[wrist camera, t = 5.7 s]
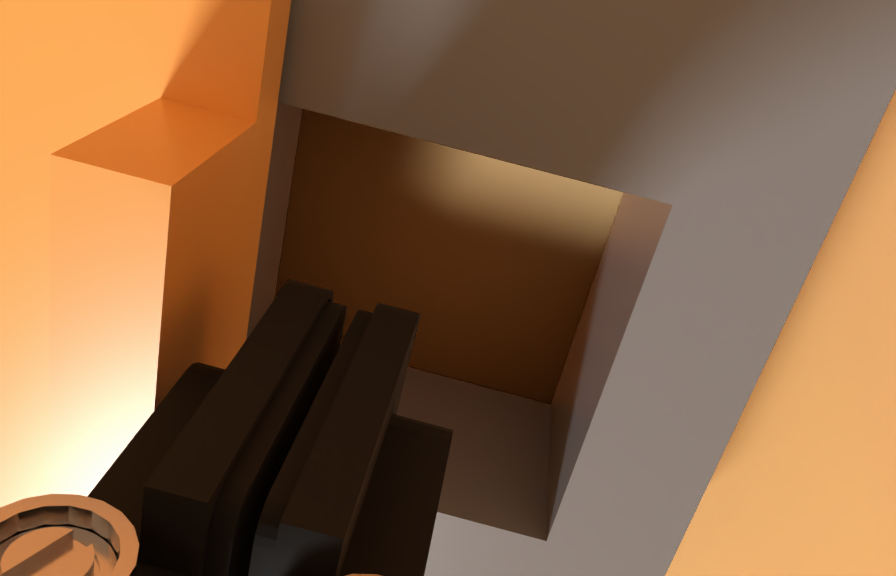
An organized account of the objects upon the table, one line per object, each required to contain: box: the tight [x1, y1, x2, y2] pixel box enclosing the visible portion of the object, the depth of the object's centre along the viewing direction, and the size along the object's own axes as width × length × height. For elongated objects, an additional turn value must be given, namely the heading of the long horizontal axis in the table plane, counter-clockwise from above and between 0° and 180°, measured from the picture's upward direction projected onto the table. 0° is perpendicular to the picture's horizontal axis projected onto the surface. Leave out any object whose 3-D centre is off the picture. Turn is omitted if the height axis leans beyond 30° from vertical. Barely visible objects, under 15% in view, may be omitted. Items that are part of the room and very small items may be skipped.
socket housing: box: [246, 0, 896, 576], centre depth 14 cm, size 18×14×4 cm
